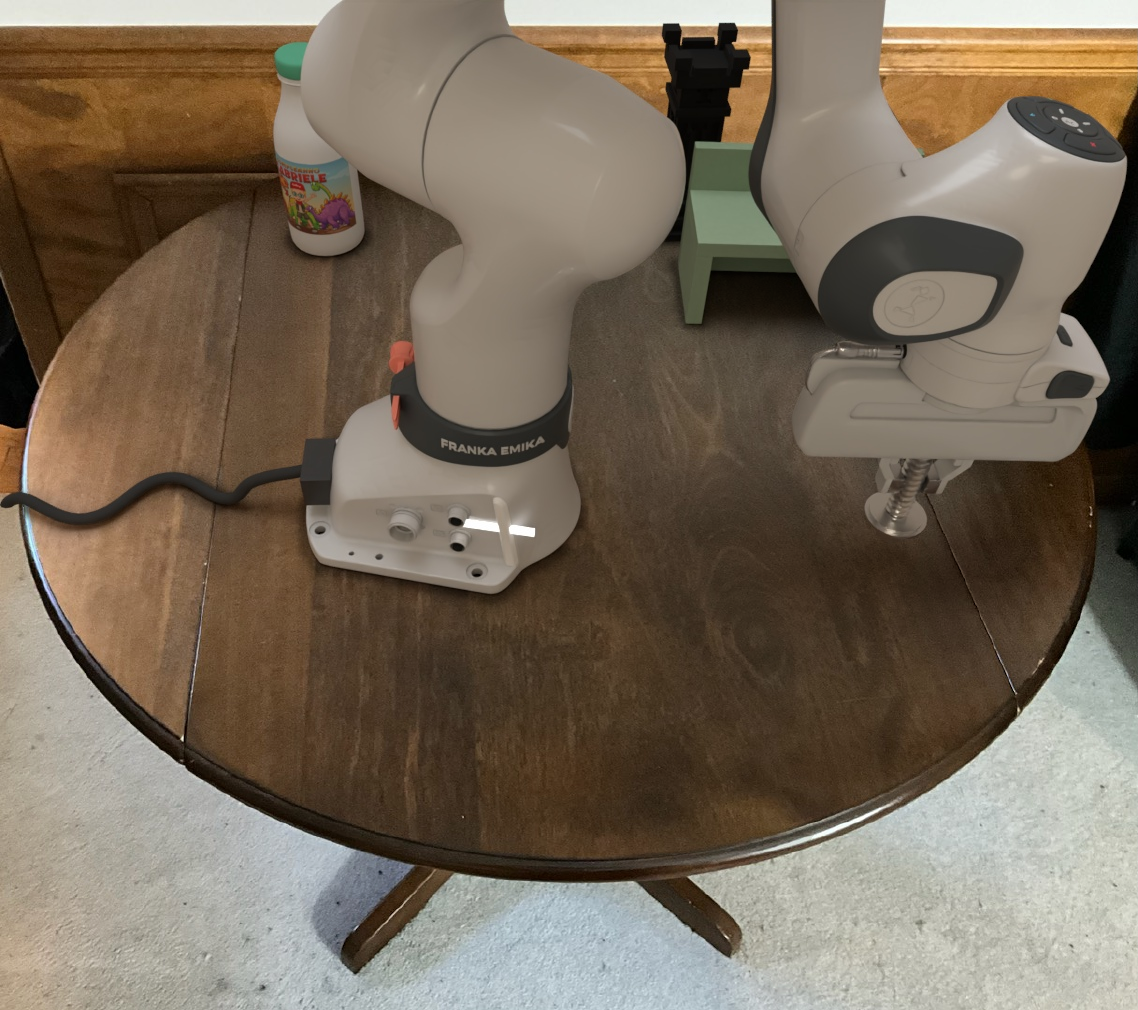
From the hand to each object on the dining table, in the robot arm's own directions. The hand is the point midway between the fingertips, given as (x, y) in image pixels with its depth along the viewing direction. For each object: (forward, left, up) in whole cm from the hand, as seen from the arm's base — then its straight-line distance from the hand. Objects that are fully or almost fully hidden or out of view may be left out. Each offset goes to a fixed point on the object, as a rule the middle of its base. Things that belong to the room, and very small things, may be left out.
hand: (907, 487), depth 79 cm
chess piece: (-13, +47, -8) cm, 49 cm away
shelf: (-3, +34, -8) cm, 35 cm away
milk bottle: (-51, +42, -8) cm, 66 cm away
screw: (0, 0, -5) cm, 5 cm away
